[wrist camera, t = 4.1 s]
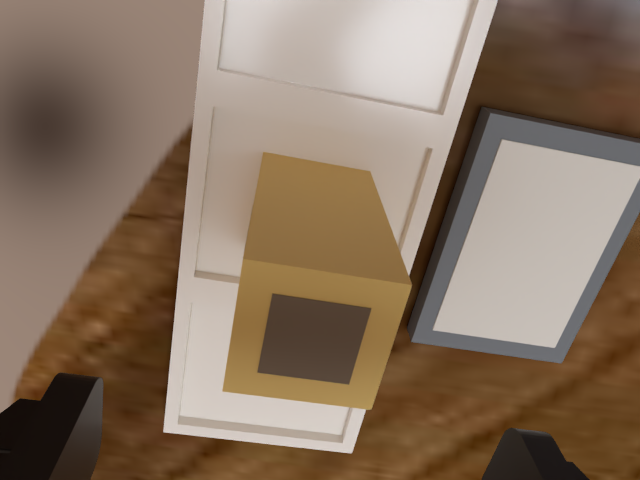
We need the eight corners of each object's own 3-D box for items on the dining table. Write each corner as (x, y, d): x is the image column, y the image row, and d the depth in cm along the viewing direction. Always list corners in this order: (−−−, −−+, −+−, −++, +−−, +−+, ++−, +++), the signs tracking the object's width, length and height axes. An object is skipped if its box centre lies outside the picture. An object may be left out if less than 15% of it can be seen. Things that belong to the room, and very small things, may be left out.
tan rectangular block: (262, 151, 19) (241, 259, 12) (370, 171, 20) (412, 285, 12) (247, 247, 21) (220, 392, 14) (346, 263, 21) (371, 410, 14)
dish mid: (201, 79, 18) (196, 85, 17) (447, 128, 19) (454, 135, 18) (181, 274, 22) (177, 287, 21) (390, 306, 23) (394, 319, 22)
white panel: (181, 274, 22) (177, 287, 21) (390, 306, 23) (394, 319, 22) (168, 415, 25) (163, 432, 24) (350, 437, 26) (351, 453, 25)
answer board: (481, 106, 19) (491, 113, 18) (654, 141, 20) (672, 150, 19) (406, 327, 23) (411, 342, 22) (551, 349, 24) (562, 364, 23)
